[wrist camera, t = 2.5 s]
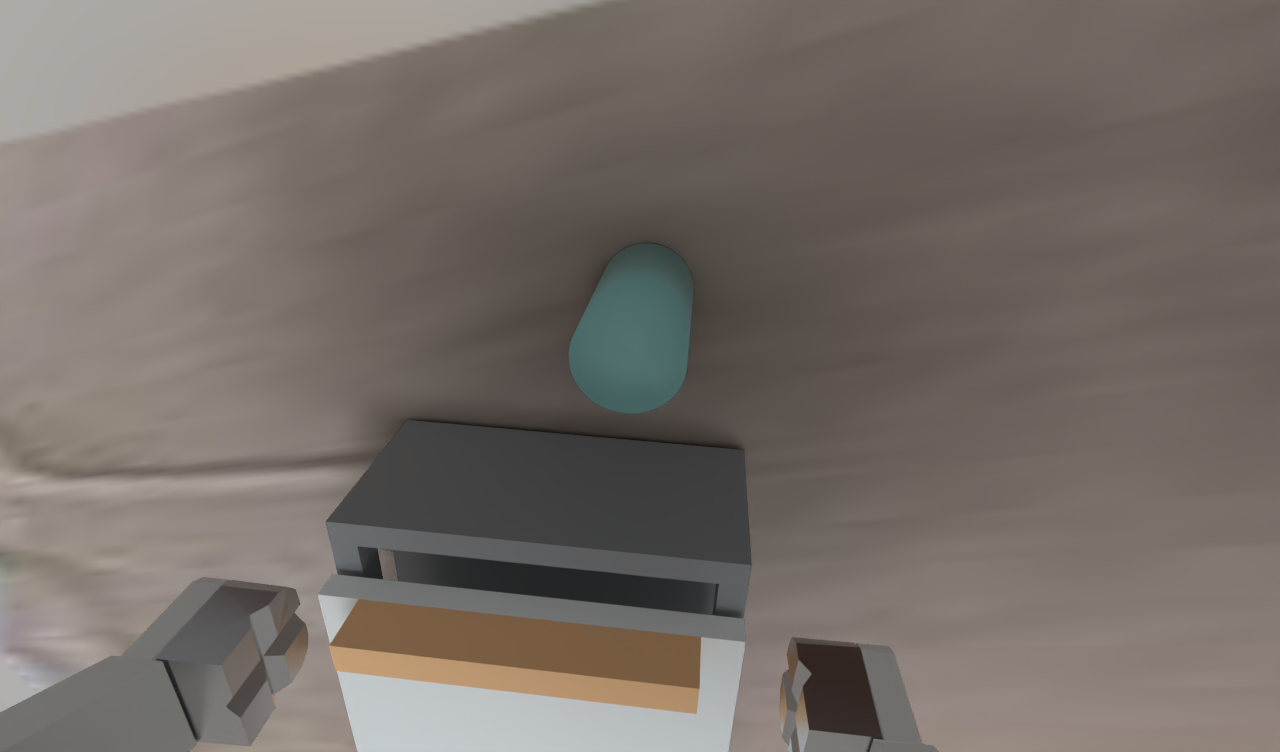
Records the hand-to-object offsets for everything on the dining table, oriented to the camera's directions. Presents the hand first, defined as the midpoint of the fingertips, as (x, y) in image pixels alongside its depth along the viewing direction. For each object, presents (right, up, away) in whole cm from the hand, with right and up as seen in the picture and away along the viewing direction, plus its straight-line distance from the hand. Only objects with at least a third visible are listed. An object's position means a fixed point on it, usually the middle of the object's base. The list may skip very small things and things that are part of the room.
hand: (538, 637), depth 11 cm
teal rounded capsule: (+2, +8, +15) cm, 17 cm away
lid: (-2, -10, +16) cm, 19 cm away
